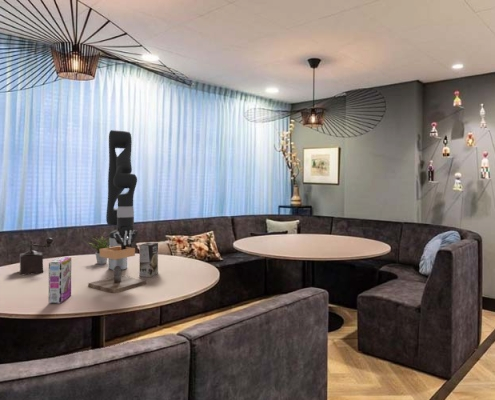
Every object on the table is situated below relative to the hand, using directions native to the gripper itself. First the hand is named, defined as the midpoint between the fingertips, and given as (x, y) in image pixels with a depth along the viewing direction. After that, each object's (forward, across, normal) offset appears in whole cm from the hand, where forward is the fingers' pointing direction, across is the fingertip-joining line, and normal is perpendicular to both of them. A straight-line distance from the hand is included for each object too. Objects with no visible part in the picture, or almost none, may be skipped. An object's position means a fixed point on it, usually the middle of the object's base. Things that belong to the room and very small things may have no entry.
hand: (125, 252), depth 179 cm
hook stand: (+15, +5, 0) cm, 15 cm away
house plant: (+15, -22, -47) cm, 54 cm away
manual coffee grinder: (+15, +12, -56) cm, 59 cm away
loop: (+1, +5, 0) cm, 5 cm away
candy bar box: (+15, +32, -1) cm, 35 cm away
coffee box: (+15, -17, -3) cm, 23 cm away
